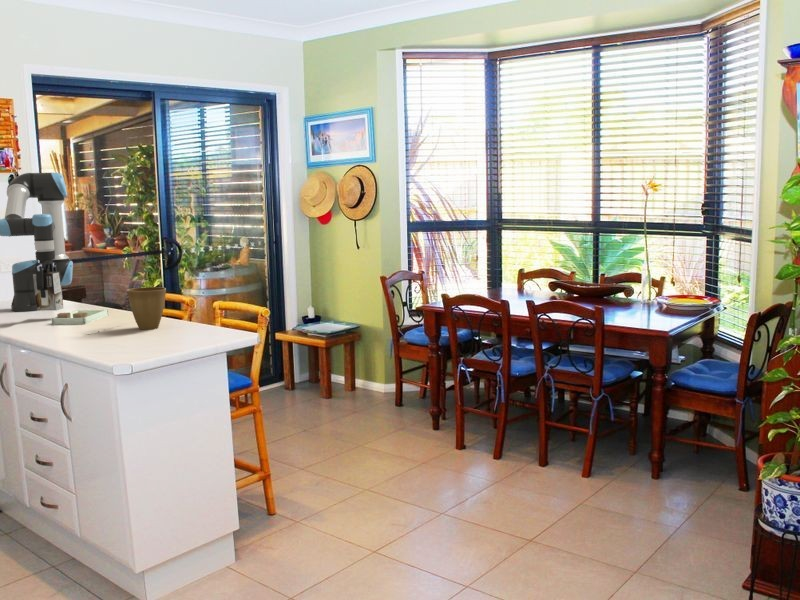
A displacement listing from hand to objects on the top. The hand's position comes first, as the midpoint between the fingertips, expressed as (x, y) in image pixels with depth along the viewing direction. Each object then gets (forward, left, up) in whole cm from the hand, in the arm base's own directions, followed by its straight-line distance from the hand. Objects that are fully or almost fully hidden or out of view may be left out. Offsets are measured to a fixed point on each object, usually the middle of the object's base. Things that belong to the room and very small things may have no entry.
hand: (49, 303), depth 327 cm
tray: (+4, +15, -8) cm, 17 cm away
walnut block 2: (+11, +19, -7) cm, 23 cm away
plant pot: (+20, +51, -8) cm, 55 cm away
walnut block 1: (+11, +12, -7) cm, 17 cm away
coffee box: (0, 0, -3) cm, 3 cm away
